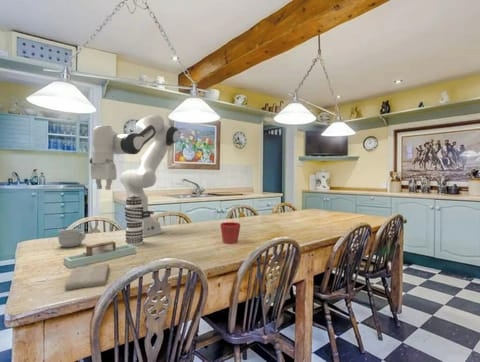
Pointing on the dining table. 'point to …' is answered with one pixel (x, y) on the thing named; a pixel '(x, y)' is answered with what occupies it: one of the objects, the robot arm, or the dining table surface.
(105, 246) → the wooden block
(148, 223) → the robot arm
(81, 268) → the washcloth
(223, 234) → the flower pot
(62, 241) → the teacup
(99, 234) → the dining table surface
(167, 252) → the dining table surface
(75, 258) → the ledge
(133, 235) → the decorative candle
